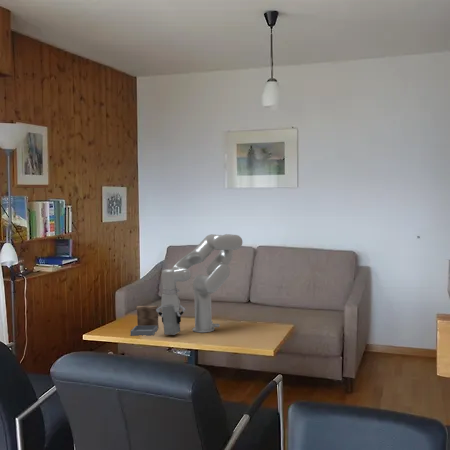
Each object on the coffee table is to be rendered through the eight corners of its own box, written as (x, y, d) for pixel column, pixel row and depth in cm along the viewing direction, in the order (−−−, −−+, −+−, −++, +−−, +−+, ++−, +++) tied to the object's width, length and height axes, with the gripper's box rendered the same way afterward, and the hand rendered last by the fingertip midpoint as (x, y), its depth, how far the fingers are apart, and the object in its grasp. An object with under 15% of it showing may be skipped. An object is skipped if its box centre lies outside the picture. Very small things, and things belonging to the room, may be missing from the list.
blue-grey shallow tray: (157, 329, 314) (157, 325, 314) (153, 335, 300) (153, 331, 300) (136, 329, 315) (135, 325, 315) (130, 335, 301) (130, 331, 301)
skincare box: (174, 335, 295) (173, 306, 294) (162, 334, 297) (161, 305, 296) (181, 331, 303) (179, 303, 302) (169, 330, 305) (168, 302, 304)
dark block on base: (158, 328, 318) (157, 305, 318) (157, 329, 314) (156, 307, 313) (138, 328, 319) (137, 305, 318) (136, 330, 314) (135, 307, 314)
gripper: (186, 289, 302) (188, 321, 303) (155, 291, 303) (157, 322, 304) (184, 292, 294) (186, 324, 295) (152, 293, 295) (154, 325, 296)
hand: (171, 323), depth 300 cm, fingers closed on skincare box, 7 cm apart
